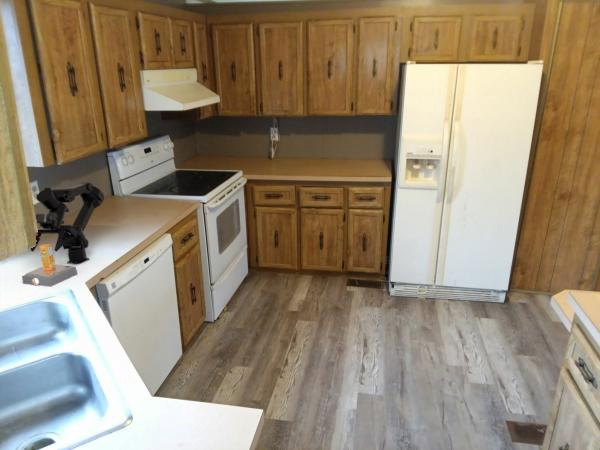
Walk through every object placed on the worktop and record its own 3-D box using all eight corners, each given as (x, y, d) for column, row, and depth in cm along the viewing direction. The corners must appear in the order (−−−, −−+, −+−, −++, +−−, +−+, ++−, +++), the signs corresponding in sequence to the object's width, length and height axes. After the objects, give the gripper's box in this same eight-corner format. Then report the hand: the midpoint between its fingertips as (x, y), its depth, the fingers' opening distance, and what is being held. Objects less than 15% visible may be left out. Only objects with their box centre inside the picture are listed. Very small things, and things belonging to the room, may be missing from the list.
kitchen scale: (50, 271, 181) (49, 264, 180) (77, 274, 177) (76, 267, 176) (21, 284, 168) (20, 276, 167) (49, 287, 164) (48, 279, 163)
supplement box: (42, 271, 170) (38, 246, 168) (48, 268, 174) (43, 243, 171) (51, 271, 170) (46, 246, 168) (56, 267, 173) (52, 243, 171)
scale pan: (49, 265, 179) (49, 263, 178) (72, 267, 176) (71, 265, 175) (26, 275, 168) (25, 273, 168) (49, 277, 165) (49, 275, 165)
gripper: (20, 205, 170) (6, 241, 162) (68, 204, 169) (56, 240, 161) (36, 220, 179) (24, 255, 172) (82, 219, 179) (71, 254, 171)
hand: (43, 251), depth 168 cm, fingers open, 9 cm apart
